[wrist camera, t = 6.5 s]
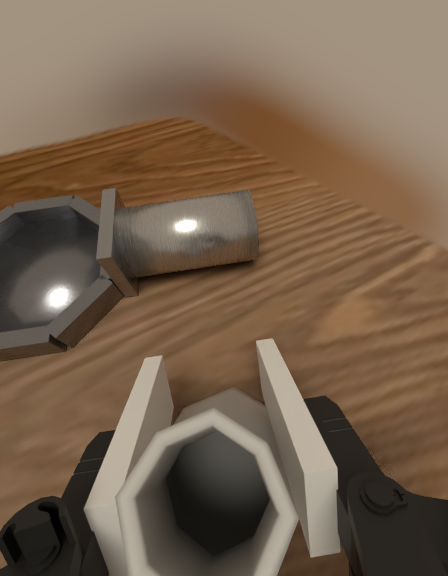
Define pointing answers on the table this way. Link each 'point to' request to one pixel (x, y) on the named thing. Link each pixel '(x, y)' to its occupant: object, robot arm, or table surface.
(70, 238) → the octagonal metal scoop
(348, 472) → the robot arm
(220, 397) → the flask
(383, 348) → the table surface
